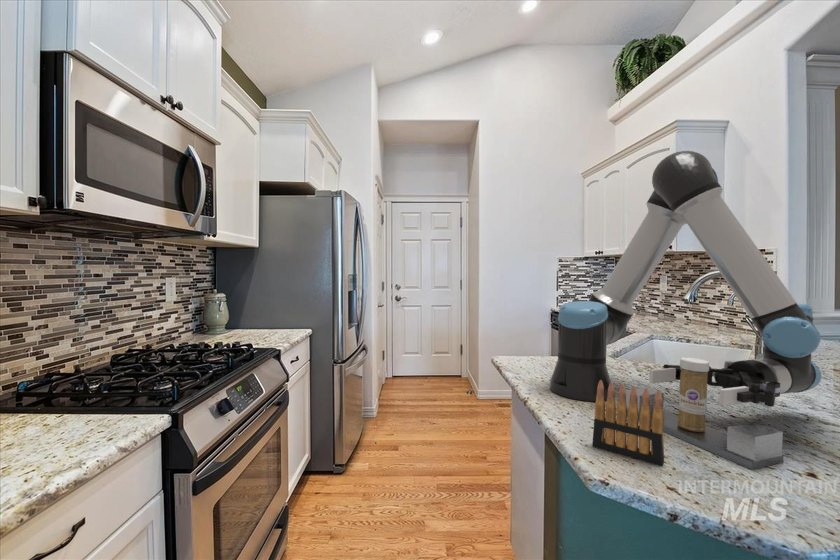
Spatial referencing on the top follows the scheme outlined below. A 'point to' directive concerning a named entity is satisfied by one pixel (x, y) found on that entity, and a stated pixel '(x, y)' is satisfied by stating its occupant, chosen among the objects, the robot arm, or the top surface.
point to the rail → (725, 438)
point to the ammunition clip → (629, 425)
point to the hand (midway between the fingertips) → (683, 386)
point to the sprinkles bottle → (693, 394)
